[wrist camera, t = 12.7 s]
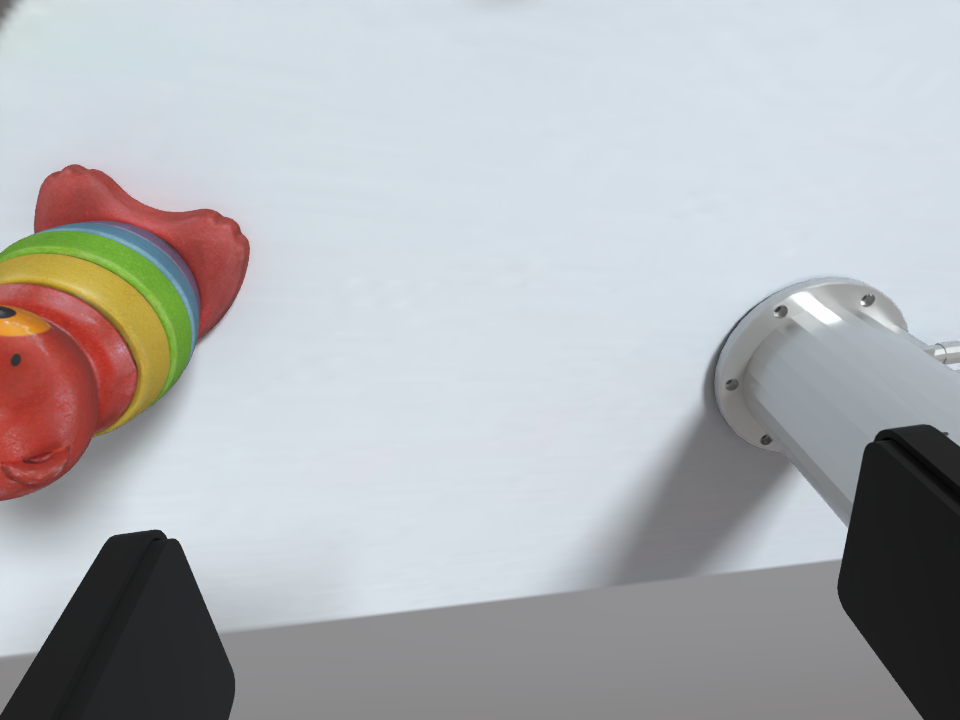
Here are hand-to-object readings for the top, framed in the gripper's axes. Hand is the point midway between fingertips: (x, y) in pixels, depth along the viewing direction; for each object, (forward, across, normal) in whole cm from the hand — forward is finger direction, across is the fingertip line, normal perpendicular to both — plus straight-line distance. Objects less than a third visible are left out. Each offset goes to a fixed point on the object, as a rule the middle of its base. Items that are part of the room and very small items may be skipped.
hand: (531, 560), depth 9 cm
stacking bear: (+31, +18, +4) cm, 36 cm away
